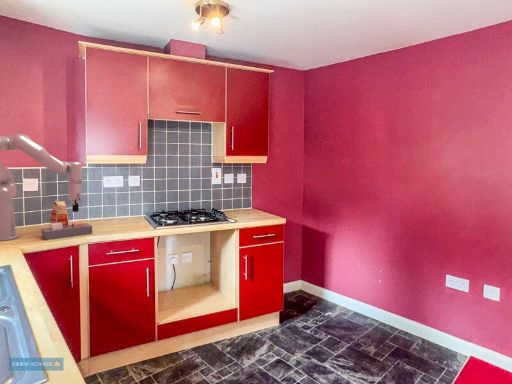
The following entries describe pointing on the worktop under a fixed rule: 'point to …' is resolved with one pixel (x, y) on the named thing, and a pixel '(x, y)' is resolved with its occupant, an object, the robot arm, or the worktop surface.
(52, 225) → the ivory key
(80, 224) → the terracotta key
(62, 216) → the milk carton
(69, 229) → the key block
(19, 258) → the worktop surface
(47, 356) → the worktop surface
